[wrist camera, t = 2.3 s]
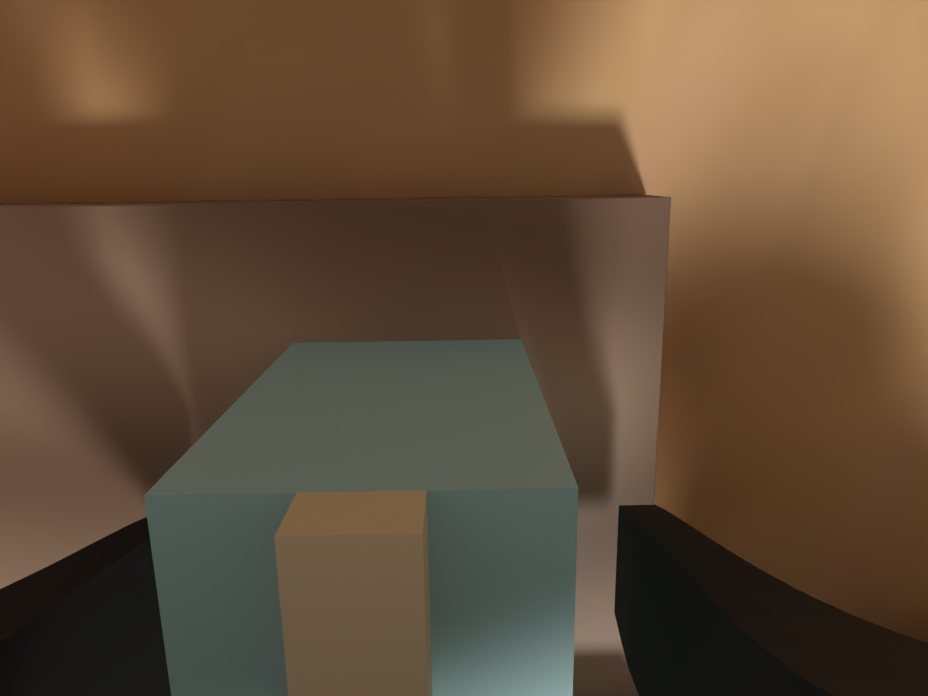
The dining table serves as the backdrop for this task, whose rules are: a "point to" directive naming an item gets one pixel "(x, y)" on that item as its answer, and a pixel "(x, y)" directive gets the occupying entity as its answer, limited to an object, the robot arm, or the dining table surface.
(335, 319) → the board
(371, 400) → the teal and beige block
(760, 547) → the dining table surface
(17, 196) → the dining table surface
